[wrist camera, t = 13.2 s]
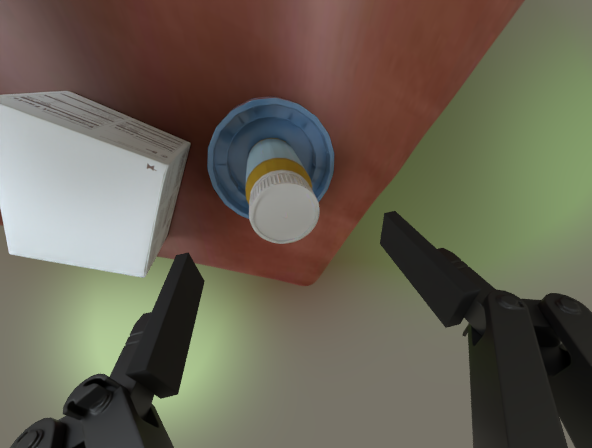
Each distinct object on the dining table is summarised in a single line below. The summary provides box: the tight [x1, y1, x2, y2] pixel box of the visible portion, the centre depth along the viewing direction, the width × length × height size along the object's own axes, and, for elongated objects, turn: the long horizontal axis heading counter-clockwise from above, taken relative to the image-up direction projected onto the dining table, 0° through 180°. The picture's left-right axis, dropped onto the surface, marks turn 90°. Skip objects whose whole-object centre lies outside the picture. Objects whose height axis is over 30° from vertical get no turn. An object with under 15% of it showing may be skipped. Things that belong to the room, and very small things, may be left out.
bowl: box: [207, 96, 334, 219], centre depth 29 cm, size 16×16×4 cm
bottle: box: [245, 138, 319, 244], centre depth 24 cm, size 7×7×15 cm
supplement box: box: [0, 91, 191, 277], centre depth 25 cm, size 17×13×9 cm
